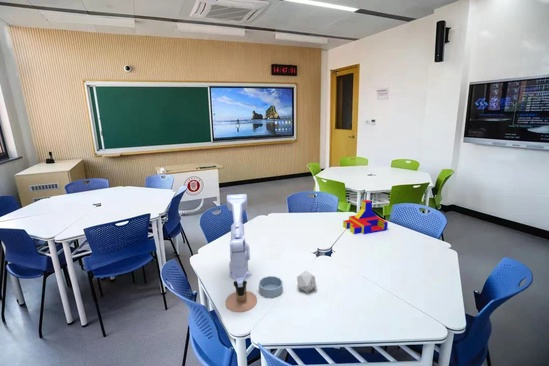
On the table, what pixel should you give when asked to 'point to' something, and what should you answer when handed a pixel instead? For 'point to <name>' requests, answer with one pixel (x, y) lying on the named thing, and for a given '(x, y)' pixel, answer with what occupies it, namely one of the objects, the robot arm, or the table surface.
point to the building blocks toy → (365, 221)
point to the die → (306, 281)
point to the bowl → (270, 286)
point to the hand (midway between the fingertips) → (240, 291)
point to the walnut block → (241, 298)
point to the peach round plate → (241, 302)
